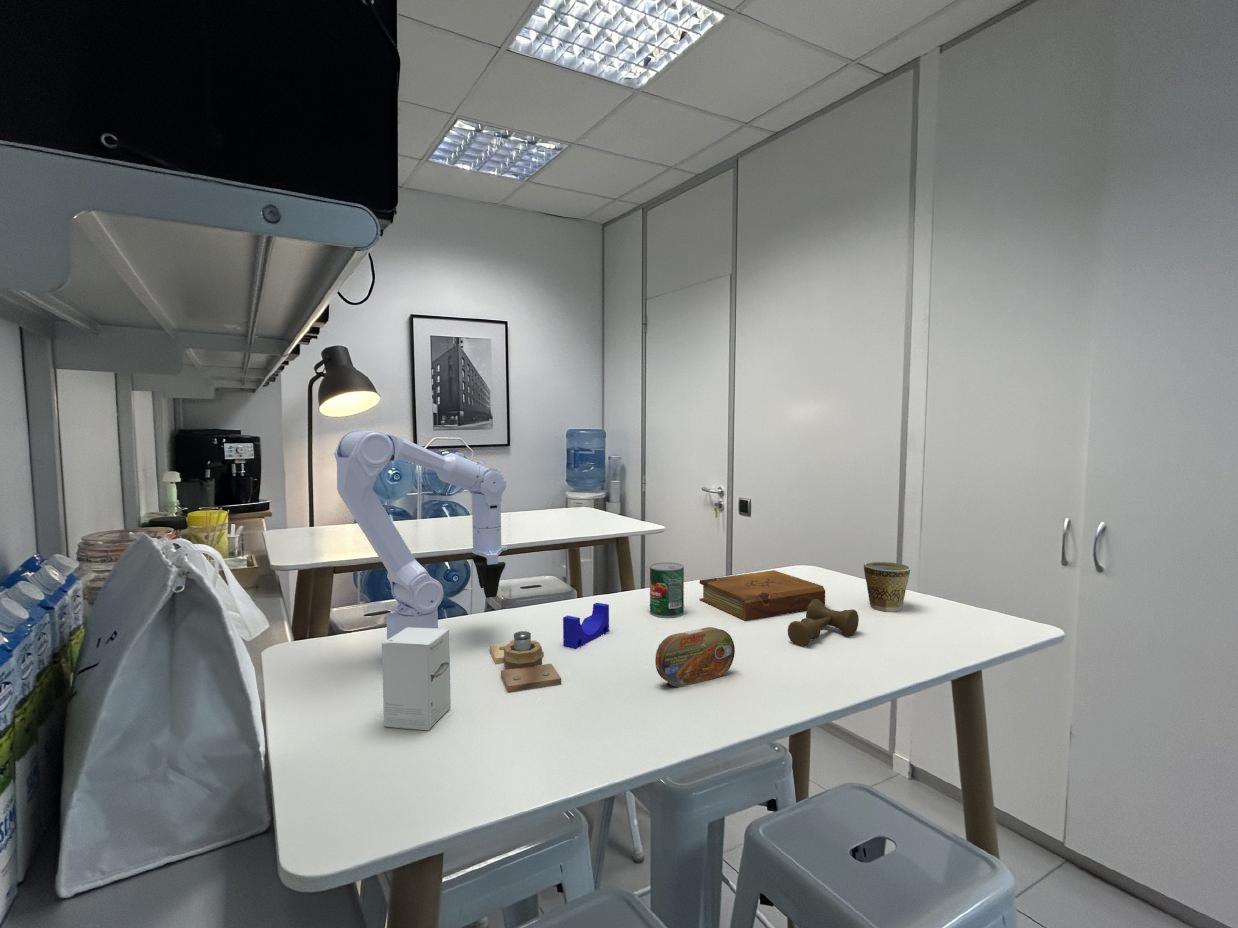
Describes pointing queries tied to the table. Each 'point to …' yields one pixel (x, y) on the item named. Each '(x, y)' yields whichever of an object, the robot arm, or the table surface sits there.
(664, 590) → the canned tomato
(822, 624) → the kendama
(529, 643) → the grey cylinder
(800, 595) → the diary
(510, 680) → the hinge plate
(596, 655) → the table surface
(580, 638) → the blue u-shaped block
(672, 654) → the tin
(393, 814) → the table surface
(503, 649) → the hinge leaf
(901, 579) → the ceramic cup
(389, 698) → the supplement box
